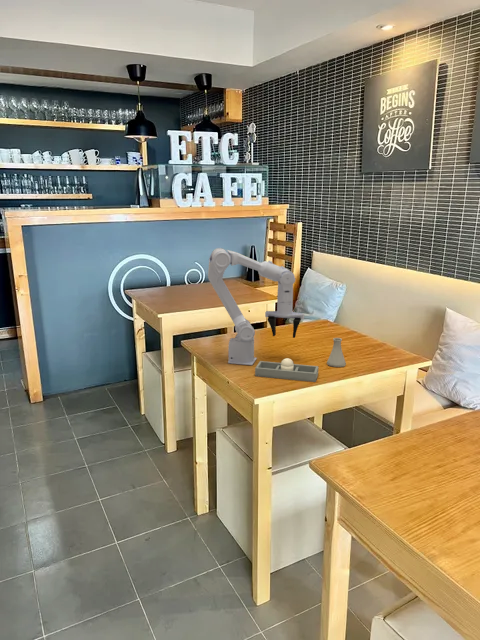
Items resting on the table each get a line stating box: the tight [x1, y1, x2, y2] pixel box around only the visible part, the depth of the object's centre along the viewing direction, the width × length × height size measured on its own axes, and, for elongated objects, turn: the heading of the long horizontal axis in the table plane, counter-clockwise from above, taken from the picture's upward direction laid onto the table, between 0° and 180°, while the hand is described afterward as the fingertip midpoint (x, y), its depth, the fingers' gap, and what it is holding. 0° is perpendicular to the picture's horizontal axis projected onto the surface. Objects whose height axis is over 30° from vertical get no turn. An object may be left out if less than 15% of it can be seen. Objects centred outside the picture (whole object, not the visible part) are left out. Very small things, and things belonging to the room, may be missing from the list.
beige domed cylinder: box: [280, 357, 295, 371], centre depth 173 cm, size 4×4×5 cm
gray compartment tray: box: [254, 360, 319, 383], centre depth 173 cm, size 21×8×3 cm, turn 75°
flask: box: [326, 337, 347, 368], centre depth 183 cm, size 7×7×10 cm
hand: (284, 336), depth 187 cm, fingers open, 7 cm apart
